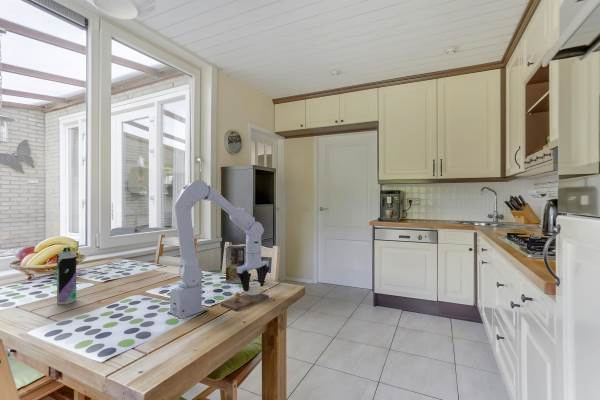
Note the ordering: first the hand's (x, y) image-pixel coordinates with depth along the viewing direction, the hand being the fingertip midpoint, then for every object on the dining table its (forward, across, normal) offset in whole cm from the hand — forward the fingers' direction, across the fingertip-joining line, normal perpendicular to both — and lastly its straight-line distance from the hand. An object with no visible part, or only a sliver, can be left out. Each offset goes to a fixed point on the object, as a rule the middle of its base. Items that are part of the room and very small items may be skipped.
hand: (253, 288), depth 106 cm
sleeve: (+3, 0, 0) cm, 3 cm away
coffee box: (+4, -11, -22) cm, 25 cm away
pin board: (+4, +4, 0) cm, 6 cm away
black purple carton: (+4, +44, -52) cm, 69 cm away
